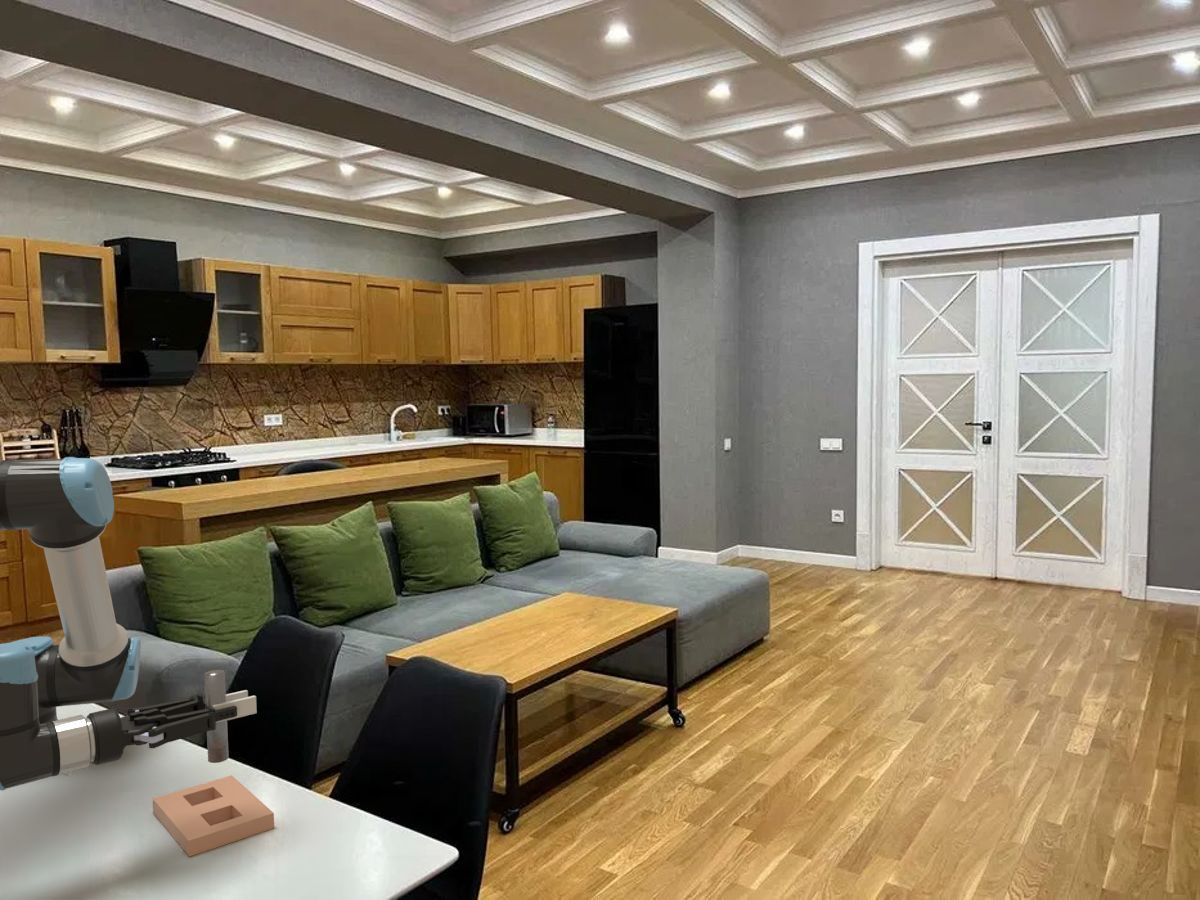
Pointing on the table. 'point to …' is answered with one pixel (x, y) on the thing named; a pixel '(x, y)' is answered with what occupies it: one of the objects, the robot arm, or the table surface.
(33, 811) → the table surface
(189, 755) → the table surface
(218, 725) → the steel dowel
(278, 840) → the table surface
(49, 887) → the table surface
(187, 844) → the terracotta block
